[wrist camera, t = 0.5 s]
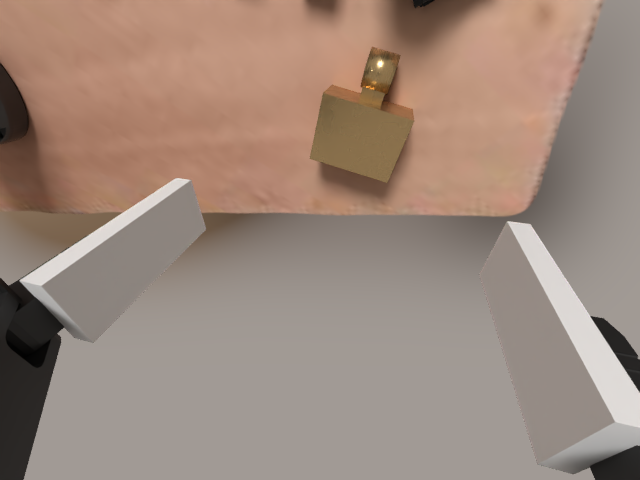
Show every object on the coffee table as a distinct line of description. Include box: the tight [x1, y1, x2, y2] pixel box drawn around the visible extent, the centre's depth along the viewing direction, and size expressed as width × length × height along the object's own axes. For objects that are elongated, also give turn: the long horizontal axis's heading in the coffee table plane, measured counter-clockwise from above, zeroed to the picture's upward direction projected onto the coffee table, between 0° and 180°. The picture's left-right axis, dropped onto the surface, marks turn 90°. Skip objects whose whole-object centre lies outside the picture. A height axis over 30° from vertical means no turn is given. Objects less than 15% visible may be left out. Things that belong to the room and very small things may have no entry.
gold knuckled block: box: [310, 47, 414, 183], centre depth 25 cm, size 10×8×4 cm
